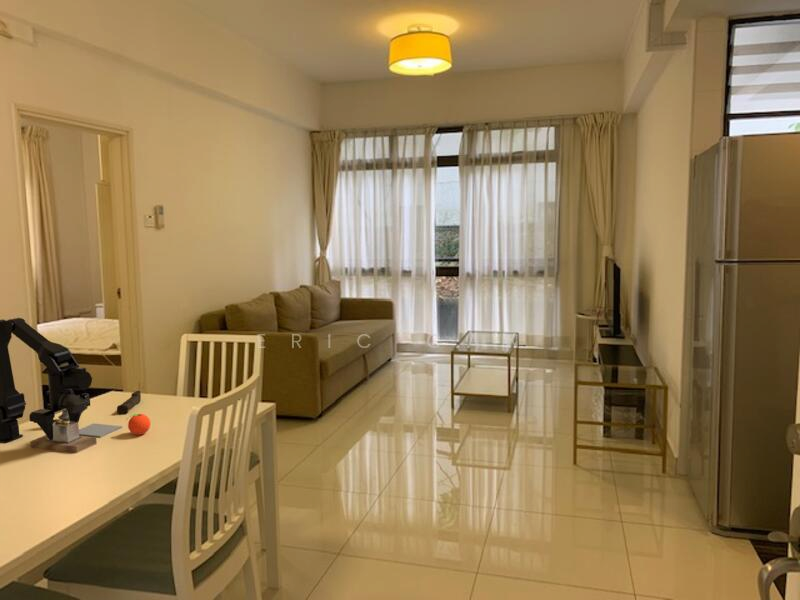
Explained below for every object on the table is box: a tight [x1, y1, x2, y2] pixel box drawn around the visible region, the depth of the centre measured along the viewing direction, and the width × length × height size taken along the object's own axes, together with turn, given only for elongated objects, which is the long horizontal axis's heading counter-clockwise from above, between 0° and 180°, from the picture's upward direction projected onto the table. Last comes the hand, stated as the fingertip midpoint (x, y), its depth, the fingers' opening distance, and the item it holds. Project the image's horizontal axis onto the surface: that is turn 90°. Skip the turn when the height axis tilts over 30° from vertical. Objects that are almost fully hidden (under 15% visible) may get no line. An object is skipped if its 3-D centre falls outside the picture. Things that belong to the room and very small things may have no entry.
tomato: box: [126, 413, 151, 436], centre depth 200 cm, size 8×7×7 cm
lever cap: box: [47, 418, 80, 442], centre depth 189 cm, size 8×4×6 cm, turn 75°
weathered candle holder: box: [57, 410, 70, 420], centre depth 208 cm, size 6×6×12 cm
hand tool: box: [116, 390, 142, 415], centre depth 230 cm, size 19×4×5 cm, turn 2°
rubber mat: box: [79, 423, 123, 438], centre depth 203 cm, size 12×10×1 cm
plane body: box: [30, 434, 97, 454], centre depth 190 cm, size 18×8×2 cm, turn 75°
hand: (63, 434), depth 189 cm, fingers open, 9 cm apart
